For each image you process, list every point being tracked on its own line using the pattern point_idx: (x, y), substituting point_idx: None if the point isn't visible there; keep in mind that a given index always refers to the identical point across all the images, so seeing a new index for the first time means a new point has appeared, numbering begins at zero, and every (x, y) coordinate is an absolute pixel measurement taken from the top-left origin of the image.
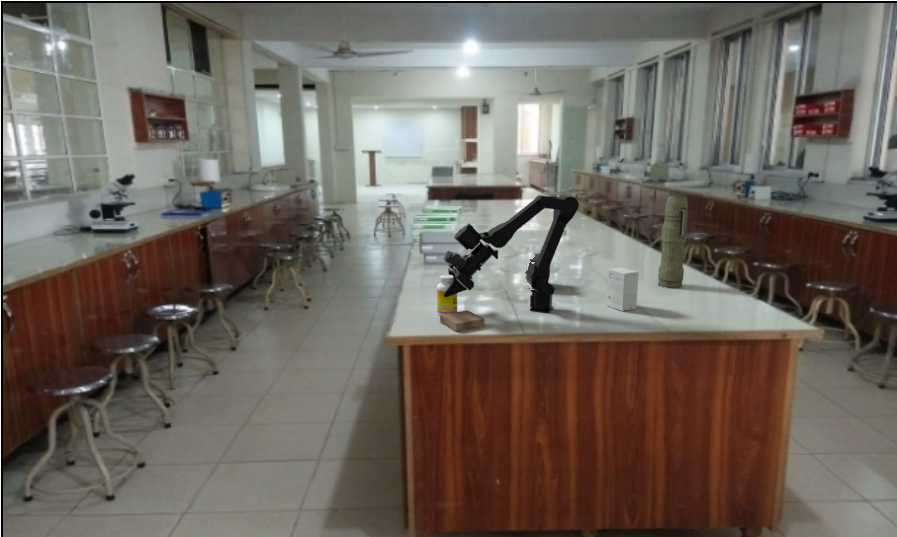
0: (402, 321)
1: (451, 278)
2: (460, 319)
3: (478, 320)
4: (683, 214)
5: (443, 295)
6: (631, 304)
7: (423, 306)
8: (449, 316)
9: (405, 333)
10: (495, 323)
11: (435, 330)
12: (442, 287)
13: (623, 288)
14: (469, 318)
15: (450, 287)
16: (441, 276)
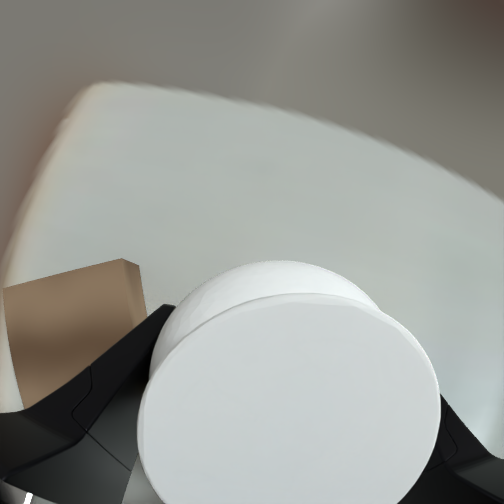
0: (223, 108)
1: (156, 486)
2: (34, 334)
3: (26, 405)
4: None
5: (163, 304)
6: None
7: (429, 252)
8: (81, 300)
9: (89, 111)
10: None
11: (61, 217)
12: (182, 305)
13: None
14: (38, 381)
15: (79, 376)
16: (340, 338)
